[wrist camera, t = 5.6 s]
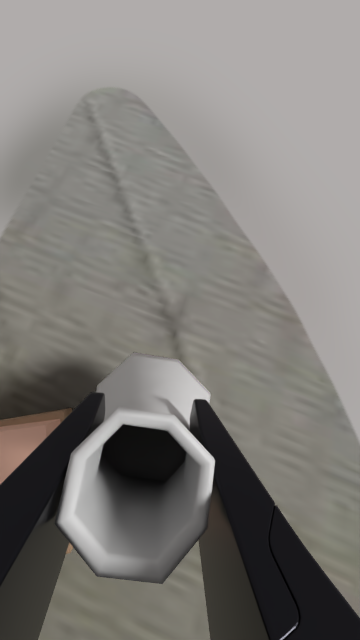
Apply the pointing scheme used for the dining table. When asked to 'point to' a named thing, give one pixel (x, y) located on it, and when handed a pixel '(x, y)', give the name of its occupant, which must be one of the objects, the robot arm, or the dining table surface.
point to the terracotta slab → (21, 443)
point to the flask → (139, 475)
